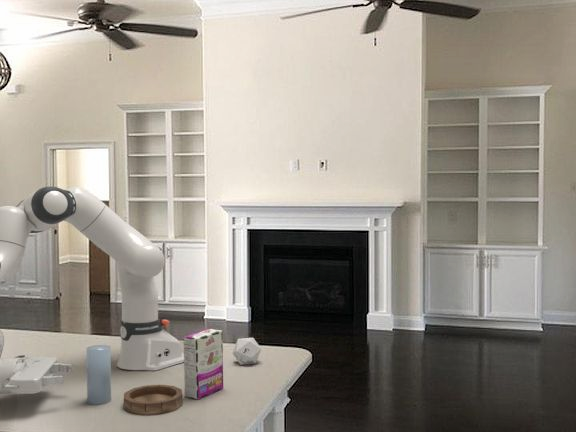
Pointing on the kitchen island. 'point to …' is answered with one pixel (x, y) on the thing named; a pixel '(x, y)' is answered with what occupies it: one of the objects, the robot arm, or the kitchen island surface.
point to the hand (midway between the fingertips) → (67, 373)
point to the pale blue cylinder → (98, 374)
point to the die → (246, 351)
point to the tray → (152, 399)
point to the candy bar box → (203, 363)
